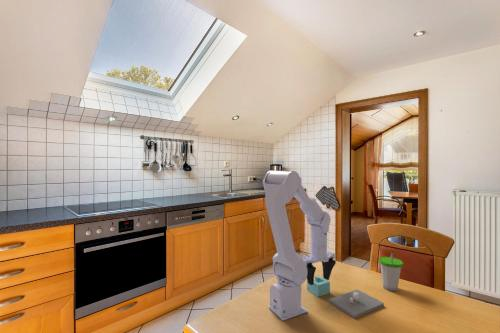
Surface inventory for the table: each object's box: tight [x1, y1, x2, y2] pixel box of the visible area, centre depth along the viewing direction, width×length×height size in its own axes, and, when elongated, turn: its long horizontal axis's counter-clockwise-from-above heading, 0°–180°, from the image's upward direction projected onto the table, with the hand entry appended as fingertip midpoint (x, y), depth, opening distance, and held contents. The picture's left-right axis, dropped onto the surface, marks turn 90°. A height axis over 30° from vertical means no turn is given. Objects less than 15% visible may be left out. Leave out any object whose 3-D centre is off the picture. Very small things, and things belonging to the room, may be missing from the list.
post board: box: [328, 289, 385, 320], centre depth 82 cm, size 14×10×4 cm
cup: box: [378, 251, 404, 292], centre depth 93 cm, size 8×8×15 cm
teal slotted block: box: [306, 275, 331, 297], centre depth 90 cm, size 6×6×4 cm
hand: (318, 281), depth 90 cm, fingers open, 7 cm apart
